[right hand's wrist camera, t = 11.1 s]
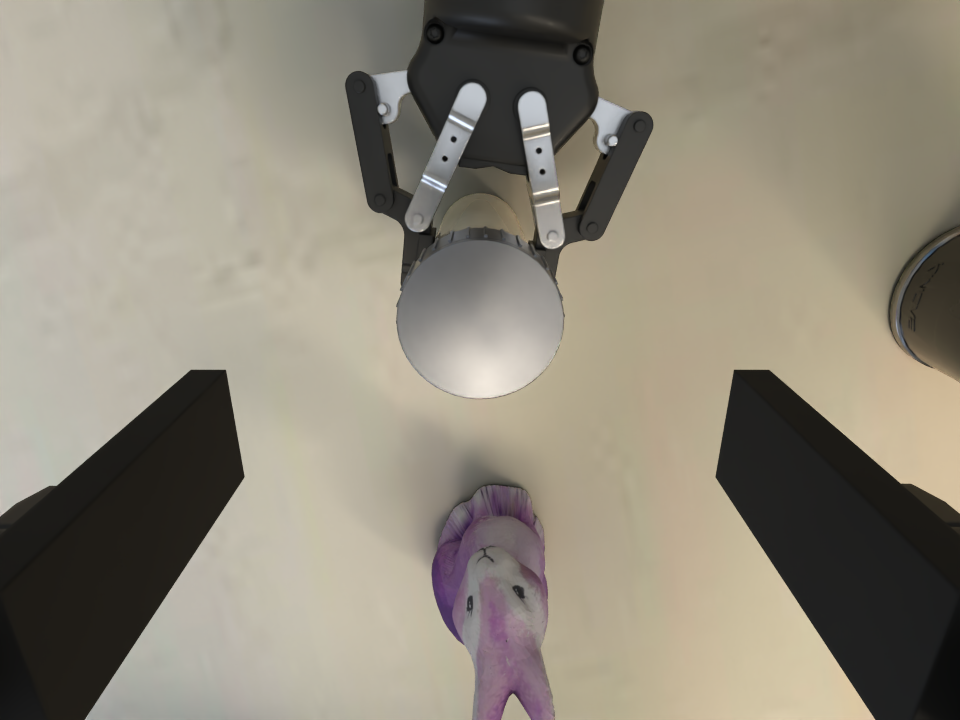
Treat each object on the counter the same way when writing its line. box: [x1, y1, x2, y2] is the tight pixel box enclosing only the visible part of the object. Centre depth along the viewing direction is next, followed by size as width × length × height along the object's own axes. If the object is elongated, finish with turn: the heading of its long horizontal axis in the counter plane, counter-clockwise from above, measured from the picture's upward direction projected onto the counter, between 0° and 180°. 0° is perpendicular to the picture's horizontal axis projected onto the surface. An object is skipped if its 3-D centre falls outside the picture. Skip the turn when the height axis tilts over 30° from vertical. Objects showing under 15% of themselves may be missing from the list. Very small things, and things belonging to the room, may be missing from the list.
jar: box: [436, 193, 526, 242], centre depth 28 cm, size 5×5×16 cm
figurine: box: [432, 485, 555, 720], centre depth 37 cm, size 9×10×15 cm
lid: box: [396, 226, 565, 399], centre depth 21 cm, size 6×6×2 cm
